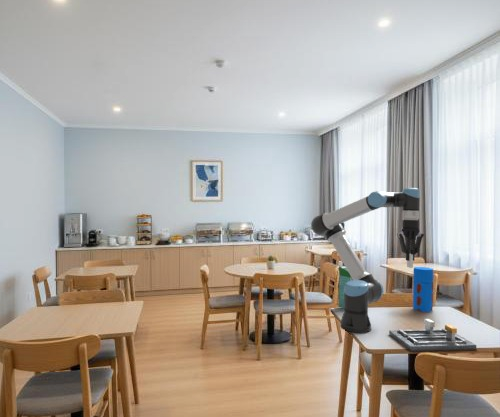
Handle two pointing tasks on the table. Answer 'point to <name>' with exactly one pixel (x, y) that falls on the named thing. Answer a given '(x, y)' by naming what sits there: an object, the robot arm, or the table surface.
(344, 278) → the milk carton
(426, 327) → the fader
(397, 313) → the table surface
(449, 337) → the fader
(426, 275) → the thermos
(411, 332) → the console
